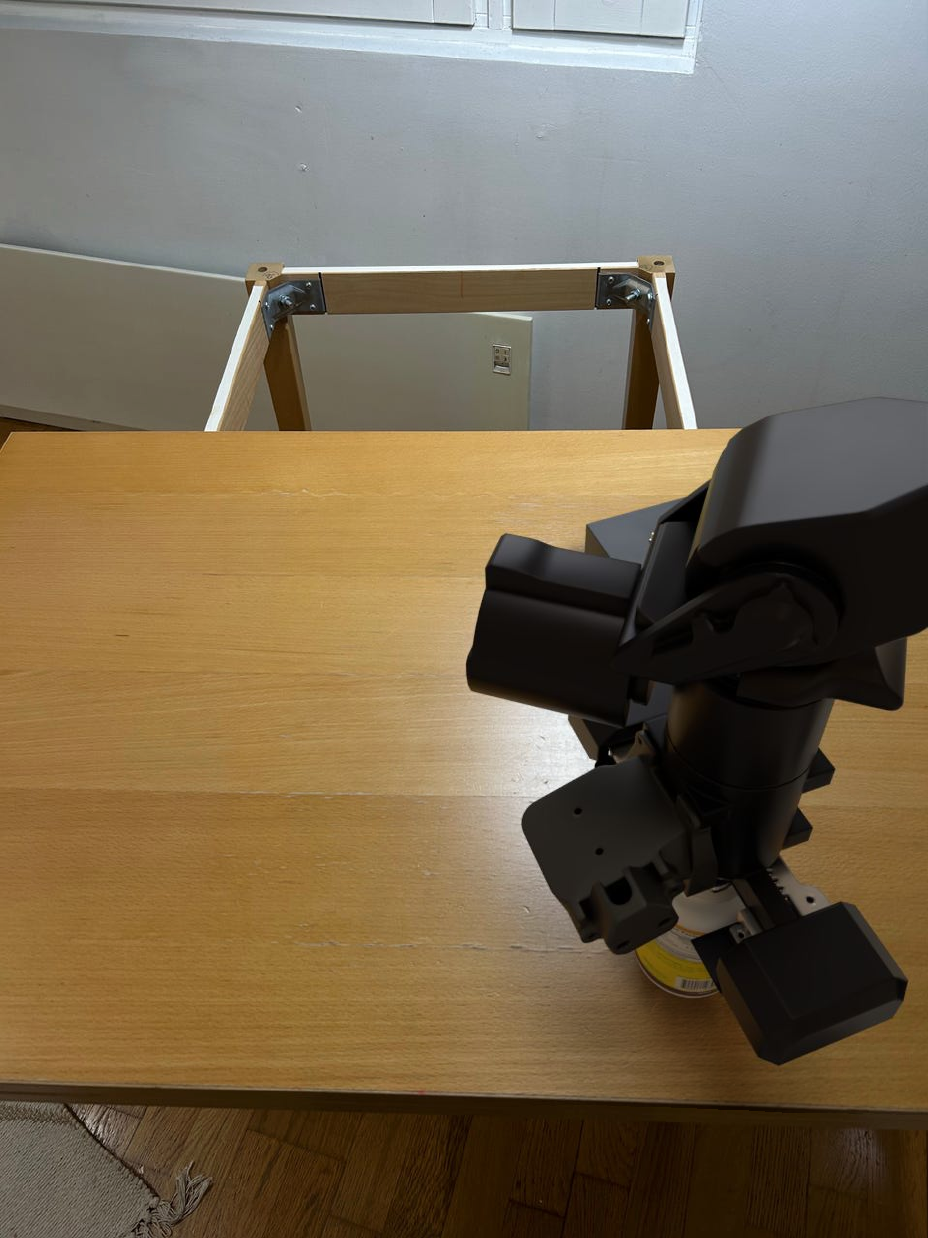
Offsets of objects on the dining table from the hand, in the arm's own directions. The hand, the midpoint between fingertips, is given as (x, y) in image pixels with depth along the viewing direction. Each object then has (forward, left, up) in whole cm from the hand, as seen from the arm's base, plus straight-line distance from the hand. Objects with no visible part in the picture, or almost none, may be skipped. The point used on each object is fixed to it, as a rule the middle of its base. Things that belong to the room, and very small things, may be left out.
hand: (691, 922), depth 49 cm
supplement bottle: (0, 0, -3) cm, 3 cm away
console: (+11, -26, -3) cm, 29 cm away
